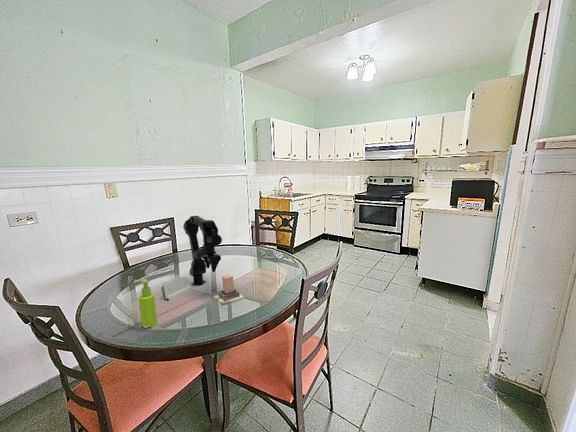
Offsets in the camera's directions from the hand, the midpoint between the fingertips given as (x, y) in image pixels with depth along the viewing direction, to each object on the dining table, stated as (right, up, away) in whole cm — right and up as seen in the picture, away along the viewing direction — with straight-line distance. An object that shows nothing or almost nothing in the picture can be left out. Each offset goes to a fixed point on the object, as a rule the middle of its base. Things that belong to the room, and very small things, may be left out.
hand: (210, 270), depth 140 cm
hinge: (-20, -14, +1) cm, 24 cm away
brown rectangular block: (+12, -12, -7) cm, 19 cm away
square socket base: (+12, -13, -7) cm, 19 cm away
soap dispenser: (-17, -17, -32) cm, 40 cm away
